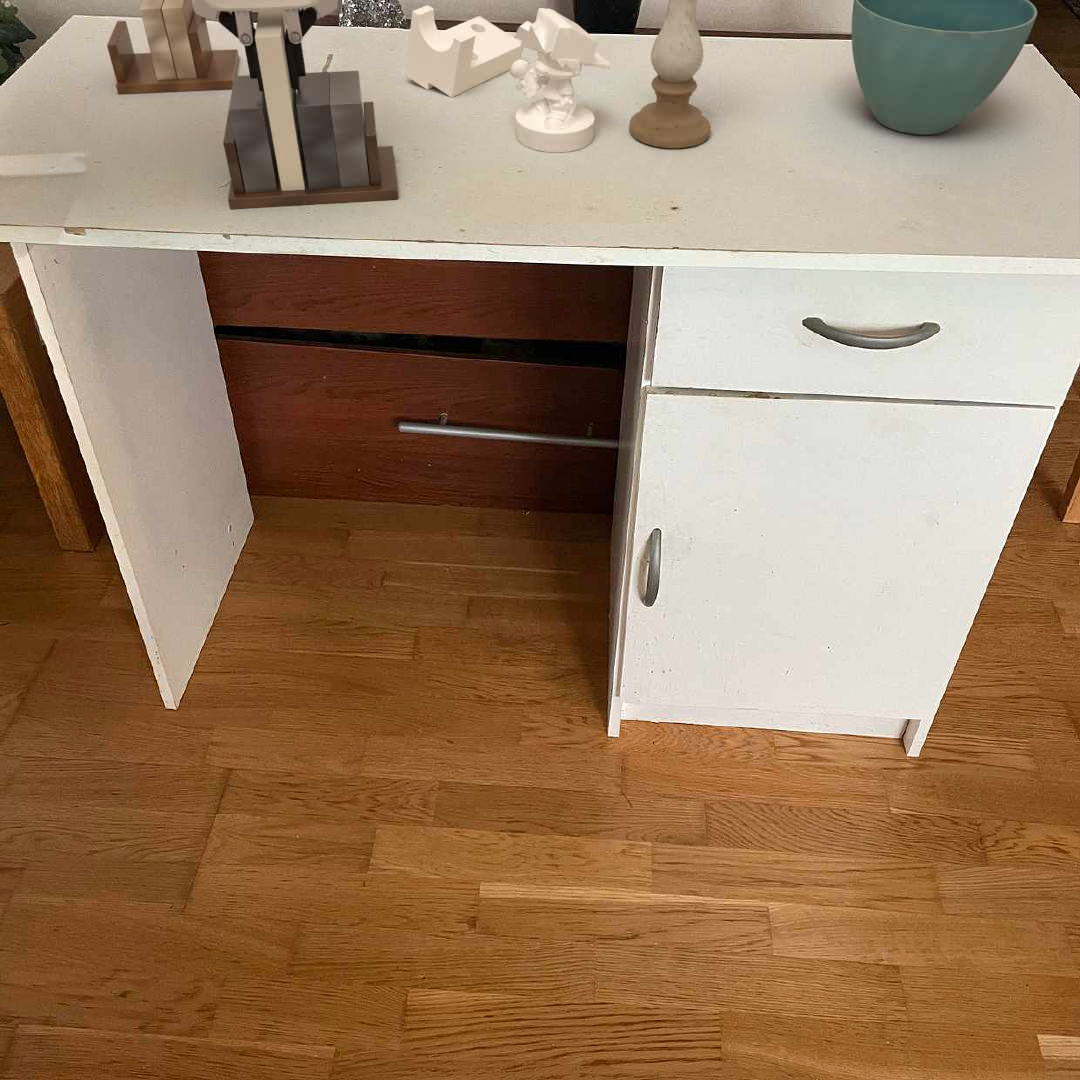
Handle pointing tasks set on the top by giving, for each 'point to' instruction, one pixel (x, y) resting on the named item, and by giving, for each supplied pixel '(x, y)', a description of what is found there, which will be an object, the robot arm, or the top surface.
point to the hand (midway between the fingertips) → (279, 83)
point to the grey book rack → (308, 145)
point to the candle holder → (674, 84)
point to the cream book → (280, 99)
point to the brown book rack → (170, 52)
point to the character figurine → (554, 84)
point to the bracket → (457, 53)
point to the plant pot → (934, 57)
